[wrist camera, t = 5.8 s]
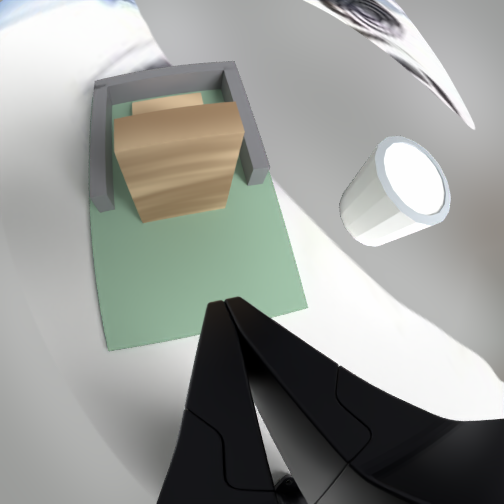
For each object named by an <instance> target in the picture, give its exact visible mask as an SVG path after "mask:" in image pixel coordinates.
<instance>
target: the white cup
mask: <svg viewBox="0 0 504 504" xmlns="http://www.w3.org/2000/svg"><path fill="white" fill-rule="evenodd" d="M450 199H451V195H450V191H449V186H448V182H447V179H446V177H445V175H444V173H443V171H442V169H441V167H440V165H439V164H438V163H437V161H436V160H435V159H434V158H433V156H432V155H431V154H430V153H429V152H428V151H427V150H426V149H425V148H423V147H422V146H420V145H419V144H418V143H417V142H415V141H413V140H411V139H408V138H405V137H402V136H391V137H387V138H385V139H384V140H383V141H382V142H380V143H379V144H378V145H377V147H376V148H375V150H374V151H373V152H372V154H371V155H370V157H369V158H368V160H367V161H366V162H365V164H364V165H363V167H362V168H361V169H360V171H359V172H358V174H357V175H356V176H355V178H354V179H353V180H352V182H351V183H350V185H349V186H348V187H347V189H346V190H345V192H344V193H343V195H342V198H341V201H340V203H339V205H340V217H341V219H342V221H343V224H344V226H345V228H346V229H347V231H348V232H349V233H350V234H351V235H352V237H353V238H354V239H356V240H357V241H359V242H361V243H363V244H364V245H369V246H379V245H382V244H384V243H387V242H390V241H392V240H395V239H398V238H401V237H403V236H406V235H409V234H411V233H414V232H416V231H419V230H421V229H424V228H427V227H429V226H432V225H435V224H437V223H440V222H442V221H443V220H444V219H445V217H446V215H447V214H448V212H449V210H450Z"/></svg>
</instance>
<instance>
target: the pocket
mask: <svg viewBox="0 0 504 504" xmlns="http://www.w3.org/2000/svg"><path fill="white" fill-rule="evenodd" d="M216 89H221V91H222V95H223V99H224V102H235V101H236V105H237V108H238V111H239V114H240V118H241V121H242V124H243V127H244V131H245V133H244V137H243V140H242V144H241V148H240V152H239V156H240V160H241V164H242V167H243V171H244V175H245V178H246V182H247V186H250V185H258V184H263V182H264V180H265V178H266V175H267V173H268V171H269V169H270V165H269V162H268V159H267V155H266V152H265V149H264V146H263V143H262V140H261V137H260V134H259V131H258V128H257V125H256V122H255V119H254V116H253V113H252V110H251V107H250V104H249V101H248V98H247V95H246V93H245V89H244V86H243V84H242V81H241V78H240V75H239V72H238V70H237V67H236V64H235V61H228V62H211V63H199V64H189V65H180V66H172V67H164V68H157V69H151V70H145V71H139V72H134V73H129V74H124V75H119V76H114V77H110V78H105V79H101V80H97V81H95V85H94V94H93V104H92V117H91V133H90V199H91V201H92V202H93V203H94V205H95V206H96V208H97V209H98V211H99V212H100V213H101V212H105V211H110V210H115V203H114V188H113V167H112V105H116V104H121V103H126V102H131V101H136V100H141V99H147V98H153V97H159V96H165V95H172V94H179V93H187V92H196V91H205V90H216Z"/></svg>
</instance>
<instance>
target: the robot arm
mask: <svg viewBox="0 0 504 504" xmlns="http://www.w3.org/2000/svg"><path fill="white" fill-rule="evenodd" d="M253 401H254V402H253ZM254 403H255V405H256V407H257V409H258V411H259V413H260V415H261V417H262V419H263V421H264V423H265V425H266V427H267V429H268V431H269V433H270V435H271V437H272V439H273V441H274V443H275V444H276V446H277V448H278V450H279V452H280V454H281V456H282V458H283V460H284V461H285V463H286V465H287V467H288V469H289V471H290V473H291V474H292V475H286V476H284V477H283V478H282V479H281V480H280V481H279V482H278V483H277V485H276V486H275V487H274V483H273V480H272V476H271V472H270V468H269V464H268V460H267V456H266V452H265V448H264V444H263V440H262V435H261V431H260V427H259V423H258V419H257V414H256V410H255V406H254ZM287 480H291V481H290V482H289V483H286V481H287ZM157 504H504V419H495V420H481V421H455V420H450V419H446V418H442V417H439V416H437V415H434V414H432V413H430V412H427V411H425V410H423V409H421V408H418V407H416V406H414V405H412V404H410V403H407V402H405V401H403V400H401V399H399V398H397V397H395V396H392V395H390V394H388V393H387V392H385V391H383V390H381V389H379V388H377V387H375V386H373V385H371V384H369V383H368V382H366V381H364V380H363V379H361V378H359V377H358V376H356V375H354V374H353V373H351V372H350V371H348V370H347V369H345V368H344V367H342V366H339V367H338V364H337V363H336V362H334V361H333V360H331V359H330V358H328V357H327V356H325V355H324V354H322V353H321V352H319V351H318V350H316V349H315V348H313V347H312V346H310V345H309V344H307V343H306V342H305V341H303V340H302V339H300V338H299V337H297V336H296V335H294V334H293V333H291V332H290V331H288V330H287V329H286V328H284V327H283V326H281V325H280V324H278V323H277V322H276V321H274V320H273V319H271V318H270V317H268V316H267V315H266V314H264V313H263V312H261V311H260V310H258V309H257V308H256V307H254V306H253V305H251V304H250V303H249V302H247V301H246V300H244V299H243V298H242V297H239V296H237V297H232V298H227V299H225V301H223V300H218V301H213V302H209V303H208V304H207V307H206V312H205V316H204V320H203V325H202V329H201V334H200V338H199V343H198V347H197V352H196V356H195V361H194V365H193V370H192V375H191V380H190V384H189V389H188V394H187V399H186V404H185V410H184V413H183V418H182V423H181V427H180V431H179V436H178V440H177V444H176V447H175V451H174V454H173V457H172V460H171V464H170V467H169V470H168V472H167V475H166V478H165V481H164V484H163V486H162V489H161V492H160V495H159V498H158V501H157Z"/></svg>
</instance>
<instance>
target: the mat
mask: <svg viewBox="0 0 504 504" xmlns="http://www.w3.org/2000/svg"><path fill="white" fill-rule="evenodd" d="M192 93H201V96H202V100H203V104H212V103H223V102H224V99H223V95H222V91H221V89H216V90H205V91H196V92H187V93H179V94H172V95H165V96H159V97H153V98H147V99H141V100H136V101H131V102H126V103H121V104H116V105H112V167H113V188H114V203H115V210H110V211H105V212H101V213H100V212H99V211H98V209H97V208H96V206H95V205H94V203H93V202H92V201H91V199H90V145H89V202H90V223H91V237H92V249H93V259H94V268H95V276H96V284H97V291H98V298H99V304H100V310H101V316H102V322H103V327H104V332H105V337H106V342H107V347H108V351H114V350H120V349H126V348H132V347H137V346H143V345H149V344H154V343H159V342H165V341H170V340H175V339H180V338H185V337H190V336H195V335H199V334H201V329H202V325H203V320H204V316H205V312H206V307H207V304H208V303H209V302H213V301H218V300H223V301H225V299H227V298H232V297H237V296H239V297H242V298H243V299H244V300H246V301H247V302H249V303H250V304H251V305H253V306H254V307H256V308H257V309H258V310H260V311H261V312H263V313H264V314H266V315H267V316H268V317H270V318H272V317H276V316H280V315H284V314H287V313H291V312H295V311H299V310H302V309H306V308H308V306H307V302H306V298H305V294H304V291H303V287H302V283H301V280H300V276H299V272H298V269H297V265H296V261H295V258H294V254H293V251H292V247H291V243H290V240H289V236H288V233H287V230H286V226H285V223H284V219H283V216H282V212H281V209H280V206H279V202H278V199H277V196H276V192H275V189H274V186H273V182H272V179H271V176H270V173H269V171H268V173H267V175H266V178H265V180H264V182H263V184H258V185H250V186H247V182H246V178H245V175H244V171H243V167H242V164H241V160H240V156H239V155H238V159H237V163H236V167H235V171H234V175H233V179H232V183H231V187H230V191H229V195H228V199H227V203H226V207H225V208H223V209H218V210H212V211H206V212H200V213H195V214H189V215H183V216H178V217H173V218H167V219H162V220H157V221H152V222H147V223H143V222H142V220H141V218H140V215H139V213H138V211H137V208H136V206H135V204H134V201H133V199H132V196H131V194H130V191H129V189H128V186H127V184H126V181H125V179H124V176H123V174H122V171H121V168H120V166H119V163H118V160H117V158H116V155H115V152H114V119H117V118H122V117H127V116H132V115H133V113H132V103H134V102H139V101H145V100H151V99H157V98H163V97H169V96H177V95H184V94H192ZM92 104H93V100H92ZM91 117H92V111H91ZM90 133H91V125H90Z"/></svg>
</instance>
